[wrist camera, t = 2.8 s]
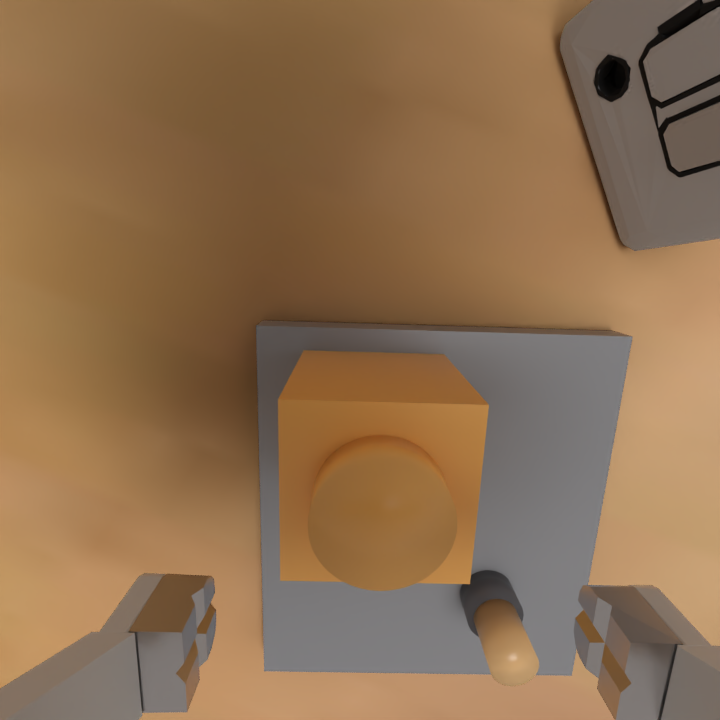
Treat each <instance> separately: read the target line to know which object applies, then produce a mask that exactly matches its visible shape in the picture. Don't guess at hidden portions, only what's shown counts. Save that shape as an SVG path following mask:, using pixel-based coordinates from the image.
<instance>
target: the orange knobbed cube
mask: <svg viewBox="0 0 720 720" xmlns="http://www.w3.org/2000/svg"><path fill="white" fill-rule="evenodd" d="M488 409H489V404H488V403H487V402H486V401H485V400H484V399H483V398H482V397H481V395H480V394H479V393H478V392H477V391H476V390H475V389H474V387H473V386H472V385H471V384H470V383H469V382H468V381H467V380H466V378H465V377H464V376H463V375H462V374H461V373H460V372H459V371H458V369H457V368H456V367H455V366H454V365H453V364H452V363H451V362H450V360H449V359H448V358H447V357H446V356H445V355H444V354H419V353H383V352H348V351H313V350H304V351H303V353H302V355H301V356H300V358H299V360H298V362H297V364H296V366H295V368H294V370H293V372H292V374H291V375H290V377H289V379H288V381H287V383H286V385H285V387H284V389H283V391H282V393H281V395H280V396H279V398H278V443H279V521H280V581H323V582H345V583H347V584H349V585H351V586H354V587H358V588H361V589H366V590H373V591H390V590H396V589H401V588H405V587H408V586H411V585H413V584H416V583H432V584H470V579H471V570H472V560H473V551H474V542H475V532H476V523H477V513H478V504H479V494H480V485H481V475H482V466H483V457H484V447H485V438H486V428H487V419H488Z"/></svg>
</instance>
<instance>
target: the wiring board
mask: <svg viewBox="0 0 720 720" xmlns="http://www.w3.org/2000/svg"><path fill="white" fill-rule="evenodd" d="M631 342H632V336H629V335H625V334H622V333H619V332H615V331H607V330H574V329H540V328H506V327H472V326H438V325H404V324H370V323H336V322H302V321H269V320H263V321H262V322H260V323H259V324H258V325H256V345H257V387H258V428H259V470H260V511H261V553H262V594H263V636H264V671H289V672H358V673H428V674H491V675H492V677H493V678H494V679H495V680H496V681H497V682H498V683H500V684H502V685H505V686H519V685H522V684H525V683H527V682H529V681H530V680H531V679H532V678H533V677H534V676H535V675H567V676H572V671H573V665H574V659H575V654H576V645H575V638H574V624H575V618H576V617H577V616H578V615H579V614H580V613H581V612H582V611H583V608H582V606H581V605H580V603H579V602H578V598H579V592H580V589H581V588H582V586H583V585H588V582H589V576H590V570H591V565H592V559H593V554H594V548H595V543H596V537H597V531H598V526H599V520H600V515H601V509H602V504H603V498H604V493H605V487H606V481H607V476H608V470H609V465H610V459H611V454H612V448H613V442H614V437H615V431H616V426H617V420H618V415H619V409H620V403H621V398H622V392H623V387H624V381H625V376H626V370H627V365H628V359H629V353H630V348H631ZM304 350H313V351H348V352H383V353H419V354H444V355H445V356H446V357H447V358H448V359H449V360H450V362H451V363H452V364H453V365H454V366H455V367H456V368H457V369H458V371H459V372H460V373H461V374H462V375H463V376H464V377H465V378H466V380H467V381H468V382H469V383H470V384H471V385H472V386H473V387H474V389H475V390H476V391H477V392H478V393H479V394H480V395H481V397H482V398H483V399H484V400H485V401H486V402H487V403H488V404H489V409H488V419H487V428H486V438H485V447H484V457H483V466H482V475H481V485H480V494H479V504H478V513H477V523H476V532H475V542H474V551H473V560H472V570H471V579H470V584H432V583H416V584H413V585H411V586H408V587H405V588H401V589H396V590H390V591H373V590H366V589H361V588H358V587H354V586H351V585H349V584H347V583H345V582H323V581H280V521H279V443H278V398H279V396H280V395H281V393H282V391H283V389H284V387H285V385H286V383H287V381H288V379H289V377H290V375H291V374H292V372H293V370H294V368H295V366H296V364H297V362H298V360H299V358H300V356H301V355H302V353H303V351H304Z"/></svg>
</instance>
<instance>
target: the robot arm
mask: <svg viewBox="0 0 720 720" xmlns="http://www.w3.org/2000/svg"><path fill="white" fill-rule="evenodd" d="M214 593H215V587H214V579H213V577H212V576H203V575H183V574H154V573H144V574H142V575H140V576H139V577H138V578H137V579H136V581H135V582H134V584H133V585H132V586H131V588H130V589H129V591H128V592H127V593H126V595H125V596H124V598H123V599H122V600H121V602H120V603H119V605H118V606H117V608H116V609H115V610H114V612H113V613H112V615H111V616H110V617H109V619H108V620H107V622H106V623H105V625H104V626H103V627H102V629H101V630H100V632H91V633H89V634H88V635H86V636H84V637H83V638H81V639H80V640H78V641H76V642H75V643H73V644H71V645H70V646H68V647H67V648H65V649H63V650H62V651H60V652H59V653H57V654H55V655H54V656H52V657H50V658H49V659H47V660H46V661H44V662H42V663H41V664H39V665H37V666H36V667H34V668H33V669H31V670H29V671H28V672H26V673H25V674H23V675H21V676H20V677H18V678H16V679H15V680H13V681H12V682H10V683H8V684H7V685H5V686H4V687H2V688H0V720H138V719H139V718H140V717H141V716H142V713H154V712H187V711H188V709H189V706H190V703H191V701H192V698H193V696H194V693H195V691H196V688H197V685H198V683H199V680H200V677H199V666H201V665H202V664H203V663H204V662H205V661H207V659H208V656H209V654H210V651H211V648H212V644H213V639H214V635H215V628H216V609H215V608H214V607H213V606H212V605H211V600H212V598H213V595H214ZM578 602H579V603H580V605H581V606H582V608H583V611H582V612H581V613H580V614H579V615H578V616H577V617H576V618H575V624H574V638H575V645H576V648H577V651H578V654H579V657H580V659H581V660H582V662H583V664H584V666H585V668H586V669H587V670H589V671H590V672H591V673H592V674H594V675H595V676H596V677H598V678H599V680H598V686H597V689H598V691H599V693H600V695H601V696H602V698H603V700H604V702H605V703H606V705H607V707H608V709H609V710H610V712H611V714H612V716H613V718H614V719H615V720H720V646H711V645H710V644H709V642H708V641H707V640H706V639H705V638H704V637H703V636H702V635H701V634H700V633H699V632H698V631H697V630H696V628H695V627H694V626H693V625H692V624H691V623H690V622H689V621H688V620H687V619H686V618H685V617H684V616H683V614H682V613H681V612H680V611H679V610H678V609H677V608H676V607H675V606H674V605H673V604H672V603H671V601H670V600H669V599H668V598H667V597H666V596H665V595H664V594H663V593H662V592H661V591H660V590H659V589H658V588H656V587H654V586H653V585H629V586H611V585H583V586H582V588H581V589H580V592H579V598H578Z"/></svg>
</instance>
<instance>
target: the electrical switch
mask: <svg viewBox="0 0 720 720" xmlns="http://www.w3.org/2000/svg"><path fill="white" fill-rule="evenodd" d="M560 52H561V55H562V58H563V61H564V64H565V67H566V71H567V74H568V77H569V80H570V83H571V86H572V89H573V93H574V96H575V99H576V102H577V105H578V108H579V112H580V115H581V118H582V121H583V124H584V127H585V130H586V134H587V137H588V140H589V143H590V146H591V149H592V152H593V156H594V159H595V162H596V165H597V168H598V171H599V174H600V178H601V181H602V184H603V187H604V190H605V193H606V197H607V200H608V203H609V206H610V209H611V212H612V215H613V219H614V222H615V225H616V228H617V231H618V234H619V237H620V240H621V241H622V243H623V244H624V245H625V246H627V247H629V248H631V249H632V250H634V251H638V250H645V249H652V248H659V247H666V246H673V245H680V244H686V243H693V242H700V241H707V240H713V239H720V0H593V1H592V2H590V3H589V4H588V5H587V6H586V7H585V8H584V9H582V10H581V11H580V12H579V13H578V14H577V15H576V16H574V17H573V18H572V19H571V20H570V21H569V22H567V23H566V24H565V27H564V29H563V32H562V35H561V39H560Z"/></svg>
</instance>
